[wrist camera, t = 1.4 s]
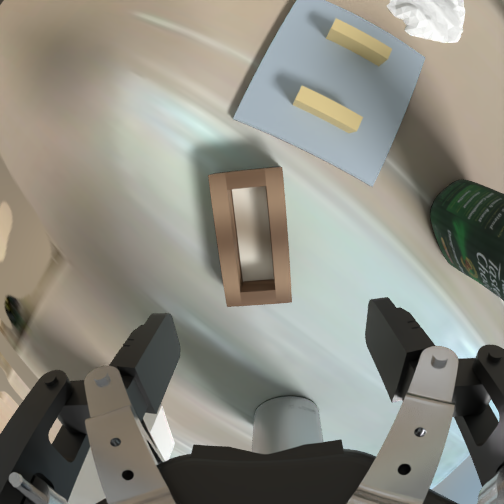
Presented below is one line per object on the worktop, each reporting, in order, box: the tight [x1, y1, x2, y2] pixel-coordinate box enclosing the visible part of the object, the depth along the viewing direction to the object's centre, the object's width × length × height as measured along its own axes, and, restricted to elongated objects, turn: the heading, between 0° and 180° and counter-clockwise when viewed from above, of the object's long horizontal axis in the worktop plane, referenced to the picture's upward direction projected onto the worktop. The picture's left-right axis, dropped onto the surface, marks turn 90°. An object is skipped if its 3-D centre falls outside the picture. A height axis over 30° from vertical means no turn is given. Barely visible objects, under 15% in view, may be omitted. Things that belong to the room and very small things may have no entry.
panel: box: [233, 0, 425, 187], centre depth 20 cm, size 16×14×3 cm
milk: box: [68, 405, 175, 504], centre depth 26 cm, size 12×12×26 cm
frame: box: [208, 167, 292, 307], centre depth 25 cm, size 12×6×3 cm, turn 6°
